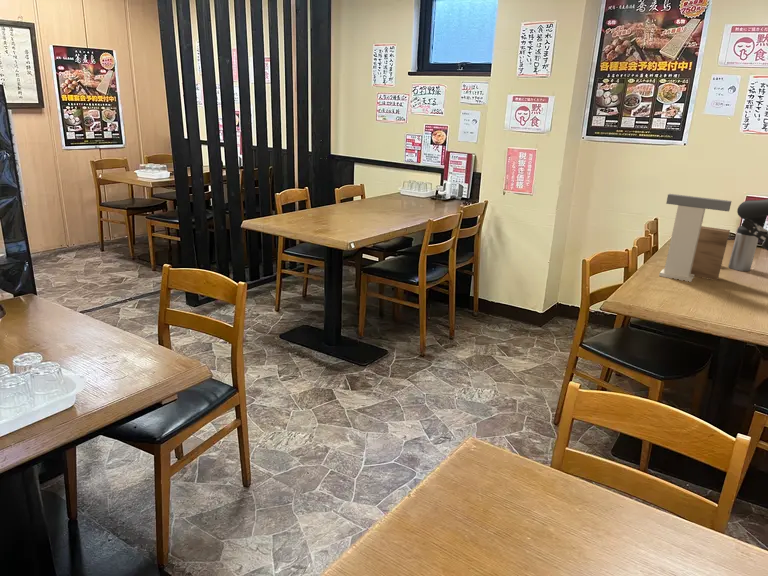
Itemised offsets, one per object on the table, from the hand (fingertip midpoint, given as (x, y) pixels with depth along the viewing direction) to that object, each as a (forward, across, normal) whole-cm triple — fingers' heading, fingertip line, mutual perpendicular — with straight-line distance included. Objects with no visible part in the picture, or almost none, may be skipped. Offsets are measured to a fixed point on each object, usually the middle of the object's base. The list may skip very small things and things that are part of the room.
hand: (743, 221), depth 234 cm
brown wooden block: (-2, -10, +32) cm, 34 cm away
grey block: (+17, 0, +6) cm, 18 cm away
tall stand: (+3, 0, +35) cm, 35 cm away
